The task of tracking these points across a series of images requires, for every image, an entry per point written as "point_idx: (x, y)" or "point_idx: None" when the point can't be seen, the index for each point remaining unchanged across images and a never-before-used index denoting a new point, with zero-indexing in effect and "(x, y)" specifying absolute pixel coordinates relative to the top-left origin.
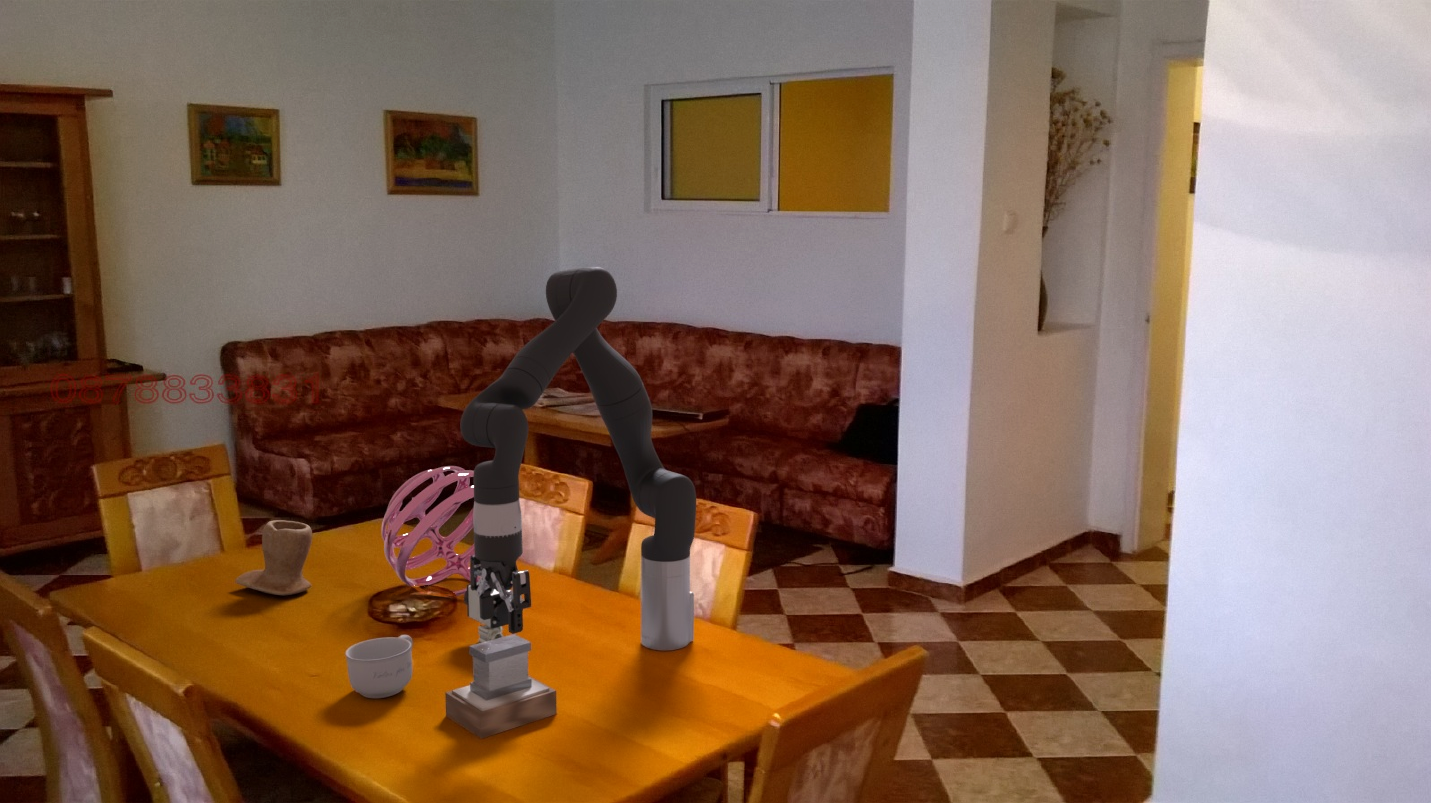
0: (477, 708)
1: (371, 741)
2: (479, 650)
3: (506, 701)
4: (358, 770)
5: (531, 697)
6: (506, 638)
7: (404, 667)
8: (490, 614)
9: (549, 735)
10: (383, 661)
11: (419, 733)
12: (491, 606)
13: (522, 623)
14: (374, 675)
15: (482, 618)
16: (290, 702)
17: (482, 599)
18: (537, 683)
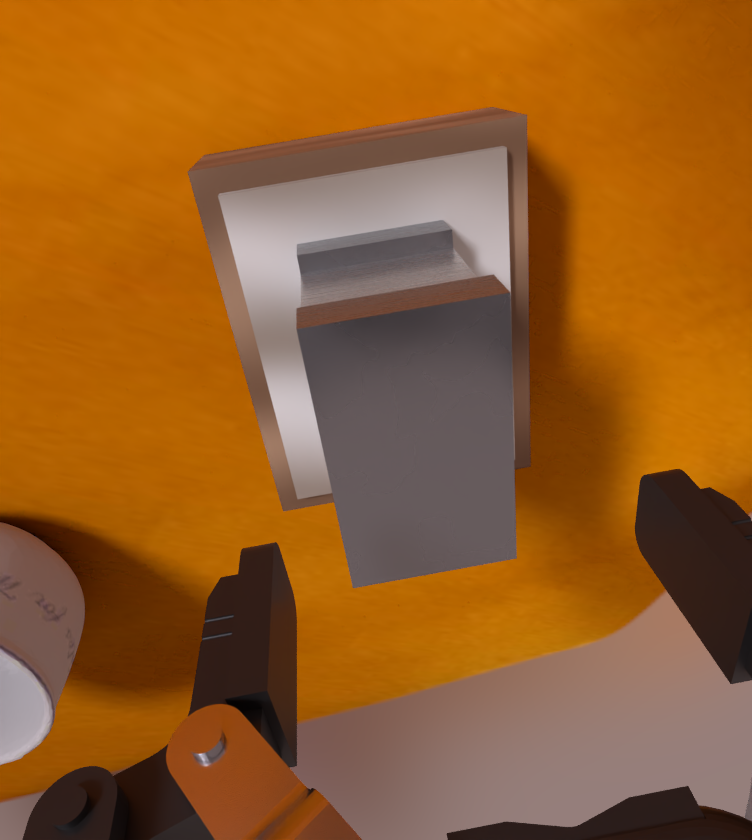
0: None
1: (346, 635)
2: (442, 564)
3: (512, 369)
4: (475, 671)
5: (520, 256)
6: (352, 400)
7: (32, 601)
8: (280, 578)
9: (632, 223)
10: (55, 697)
11: None
12: (278, 622)
13: (749, 519)
14: (68, 674)
15: (294, 614)
16: None
17: (295, 752)
18: (422, 175)
